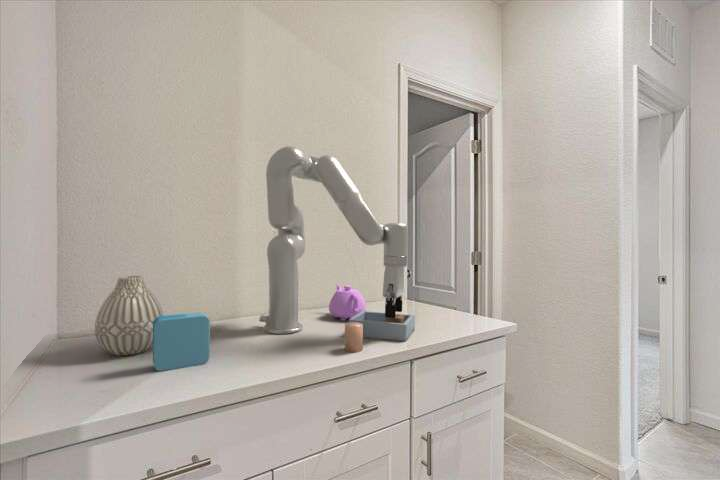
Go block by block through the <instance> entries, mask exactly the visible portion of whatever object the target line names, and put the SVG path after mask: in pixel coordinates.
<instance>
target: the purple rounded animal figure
mask: <svg viewBox="0 0 720 480" xmlns="http://www.w3.org/2000/svg"><path fill="white" fill-rule="evenodd" d="M335 285H336V291H335V292H334V294H333V296H332V297H331V299H330V301H329V304H328V305H329V306H328V311H329V313H330V314H331V315H332V316H333V317H334V318H339V321H341V322H342V321H347V319H351V318H352V317H354V316H356V315H357V314H359V313H360V312H362V311H367V307H366V302H365V299H364V297H363V296H362V295H363V294H361V292H360V290H358V289H354V288H353V289H352V286H351V285H344V286H343V287H344V288H341V285H340V284H339V283H338V282H337V283H335Z"/></svg>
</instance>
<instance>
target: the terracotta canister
mask: <svg viewBox="0 0 720 480" xmlns="http://www.w3.org/2000/svg"><path fill="white" fill-rule="evenodd" d="M363 344H364V337H363V324H362V323H357V322H350V323H349V322H346V323H345V324H344V351H345V352H348V353H360V352H362V351H363V348H364V347H363Z"/></svg>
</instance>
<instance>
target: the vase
mask: <svg viewBox="0 0 720 480" xmlns="http://www.w3.org/2000/svg"><path fill="white" fill-rule="evenodd" d="M159 316H165V315H164V311H163V309H162V306H161V304H160V301H158V299H157V298H156V296H155V295H154V293H152V291H151V290H150V289H149V288H148V287H147V285H146V283H145V280H144V277H143V276H142V275H123V276H119V277H118V280H117V281H116V284H115V287H114V289H113V290H112V291H111V292H110V294H109V295H108V296H107V297H106V298H105V300H104V302H103V303H102V304H101V306H100V308H99V310H98V312H97V314H96V317H95V322H94V332H95V333H94V334H95V337H96V340H97V342H98V343H99V344H98V345H100V346H101V347H102V349H104V350H105V351H106V352H108V353H109V354H111V355H114V356H132V355H138V354H141V353H144V352H147V351H148V350H149V349H151V348H153V321H154V320H155V318H157V317H159Z"/></svg>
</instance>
